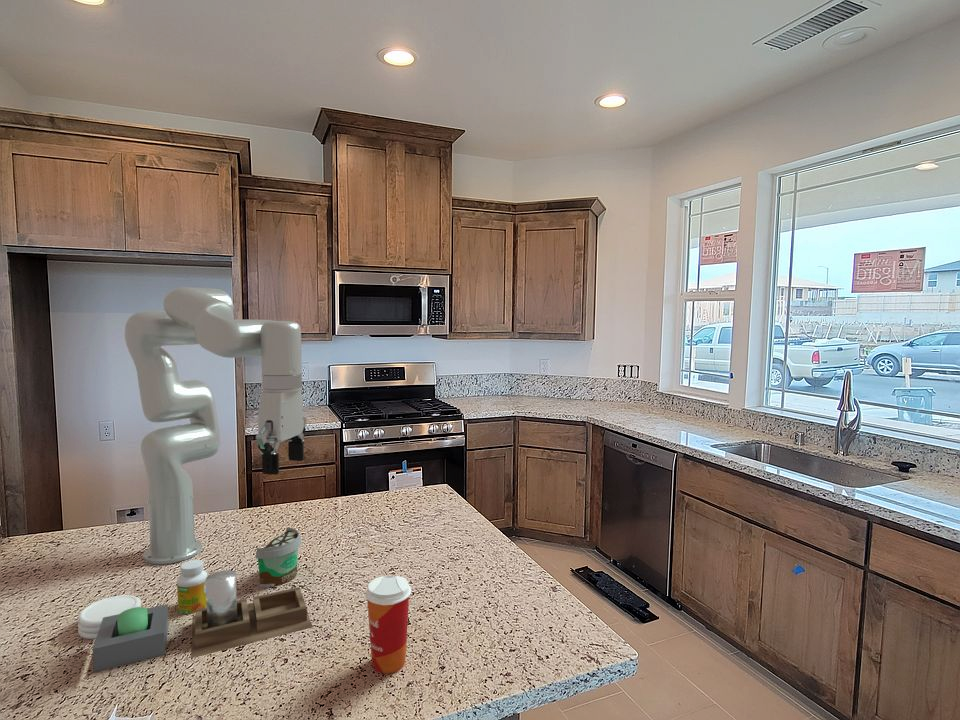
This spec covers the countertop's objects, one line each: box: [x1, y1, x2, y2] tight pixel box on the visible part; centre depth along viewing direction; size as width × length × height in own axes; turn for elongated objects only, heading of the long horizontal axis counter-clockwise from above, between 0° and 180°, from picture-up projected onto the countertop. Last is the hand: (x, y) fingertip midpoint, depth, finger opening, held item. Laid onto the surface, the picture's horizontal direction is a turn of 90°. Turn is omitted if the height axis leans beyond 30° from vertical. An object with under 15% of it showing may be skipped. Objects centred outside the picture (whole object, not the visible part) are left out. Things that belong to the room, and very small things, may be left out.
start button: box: [117, 606, 148, 636], centre depth 92 cm, size 4×4×4 cm
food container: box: [255, 527, 302, 588], centre depth 117 cm, size 12×6×10 cm, turn 168°
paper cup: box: [364, 575, 412, 675], centre depth 90 cm, size 8×8×14 cm
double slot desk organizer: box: [190, 586, 313, 659], centre depth 100 cm, size 14×20×4 cm
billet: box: [206, 569, 238, 629], centre depth 98 cm, size 5×5×10 cm
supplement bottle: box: [176, 559, 209, 615], centre depth 105 cm, size 5×5×10 cm
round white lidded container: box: [77, 594, 142, 640], centre depth 101 cm, size 10×10×4 cm
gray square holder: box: [92, 603, 170, 673], centre depth 92 cm, size 10×10×5 cm
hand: (284, 466), depth 107 cm, fingers open, 9 cm apart
